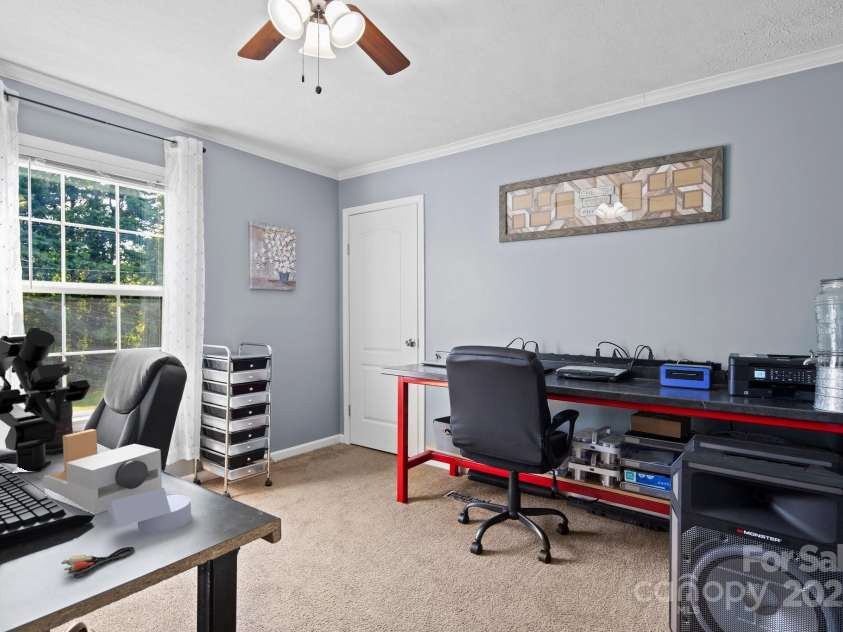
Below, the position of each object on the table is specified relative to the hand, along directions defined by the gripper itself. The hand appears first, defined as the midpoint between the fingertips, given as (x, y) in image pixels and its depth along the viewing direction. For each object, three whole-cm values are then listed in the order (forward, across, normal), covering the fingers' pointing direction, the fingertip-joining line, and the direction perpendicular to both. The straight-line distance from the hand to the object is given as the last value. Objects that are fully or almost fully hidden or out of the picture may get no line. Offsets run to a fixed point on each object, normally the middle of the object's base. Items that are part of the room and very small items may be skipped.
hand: (57, 422), depth 113 cm
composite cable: (+45, -16, -25) cm, 54 cm away
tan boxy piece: (+16, 0, -2) cm, 17 cm away
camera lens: (-7, +10, +27) cm, 29 cm away
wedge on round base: (+41, -4, -21) cm, 46 cm away
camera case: (+24, 0, -5) cm, 24 cm away
